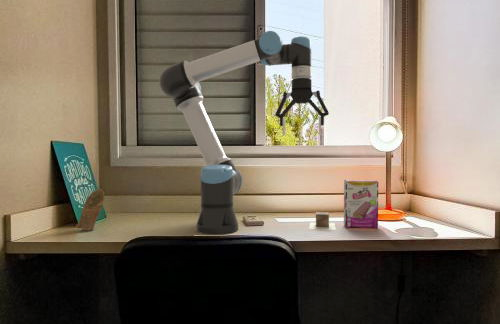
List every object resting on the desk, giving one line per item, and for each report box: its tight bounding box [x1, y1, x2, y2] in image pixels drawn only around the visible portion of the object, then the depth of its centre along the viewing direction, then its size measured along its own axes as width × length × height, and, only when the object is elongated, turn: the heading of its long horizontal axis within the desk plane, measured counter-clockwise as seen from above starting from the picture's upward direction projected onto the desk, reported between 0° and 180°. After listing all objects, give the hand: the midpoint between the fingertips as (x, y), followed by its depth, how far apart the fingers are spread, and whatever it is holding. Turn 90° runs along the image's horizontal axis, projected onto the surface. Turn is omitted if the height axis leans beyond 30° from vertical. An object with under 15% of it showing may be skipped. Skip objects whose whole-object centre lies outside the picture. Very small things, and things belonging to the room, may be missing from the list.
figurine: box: [75, 188, 105, 231], centre depth 135 cm, size 8×8×15 cm
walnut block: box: [315, 211, 330, 227], centre depth 131 cm, size 4×4×4 cm
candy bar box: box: [343, 179, 379, 229], centre depth 128 cm, size 11×5×16 cm, turn 83°
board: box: [308, 222, 377, 232], centre depth 130 cm, size 24×14×2 cm, turn 79°
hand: (301, 134), depth 141 cm, fingers open, 13 cm apart
